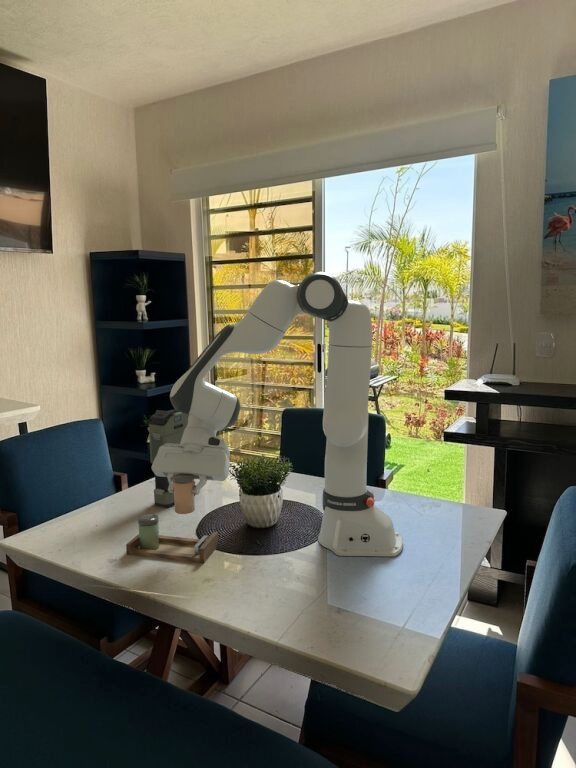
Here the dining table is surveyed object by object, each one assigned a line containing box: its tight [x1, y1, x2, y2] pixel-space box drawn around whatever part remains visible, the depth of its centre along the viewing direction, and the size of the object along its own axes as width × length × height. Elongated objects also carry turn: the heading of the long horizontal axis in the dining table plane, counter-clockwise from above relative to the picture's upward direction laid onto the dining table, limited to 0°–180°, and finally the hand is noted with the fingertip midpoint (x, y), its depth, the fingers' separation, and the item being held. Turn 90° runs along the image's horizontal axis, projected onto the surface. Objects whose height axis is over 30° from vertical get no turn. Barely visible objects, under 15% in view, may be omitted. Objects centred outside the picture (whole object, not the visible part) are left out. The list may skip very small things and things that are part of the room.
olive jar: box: [137, 514, 160, 550], centre depth 142 cm, size 5×5×8 cm
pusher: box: [194, 535, 209, 555], centre depth 139 cm, size 2×6×3 cm, turn 167°
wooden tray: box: [125, 531, 219, 564], centre depth 141 cm, size 21×10×4 cm, turn 77°
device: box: [148, 409, 196, 509], centre depth 175 cm, size 14×8×30 cm, turn 150°
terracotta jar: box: [173, 474, 196, 515], centre depth 138 cm, size 5×5×9 cm
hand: (183, 492), depth 137 cm, fingers closed on terracotta jar, 5 cm apart
